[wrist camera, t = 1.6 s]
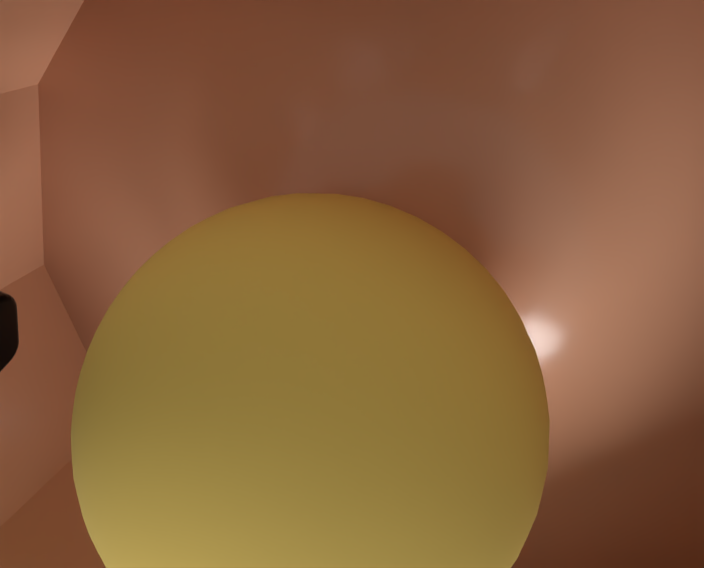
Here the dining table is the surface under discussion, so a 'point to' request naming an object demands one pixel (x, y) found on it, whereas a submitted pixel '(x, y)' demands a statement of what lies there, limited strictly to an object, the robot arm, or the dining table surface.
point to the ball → (310, 399)
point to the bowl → (384, 187)
